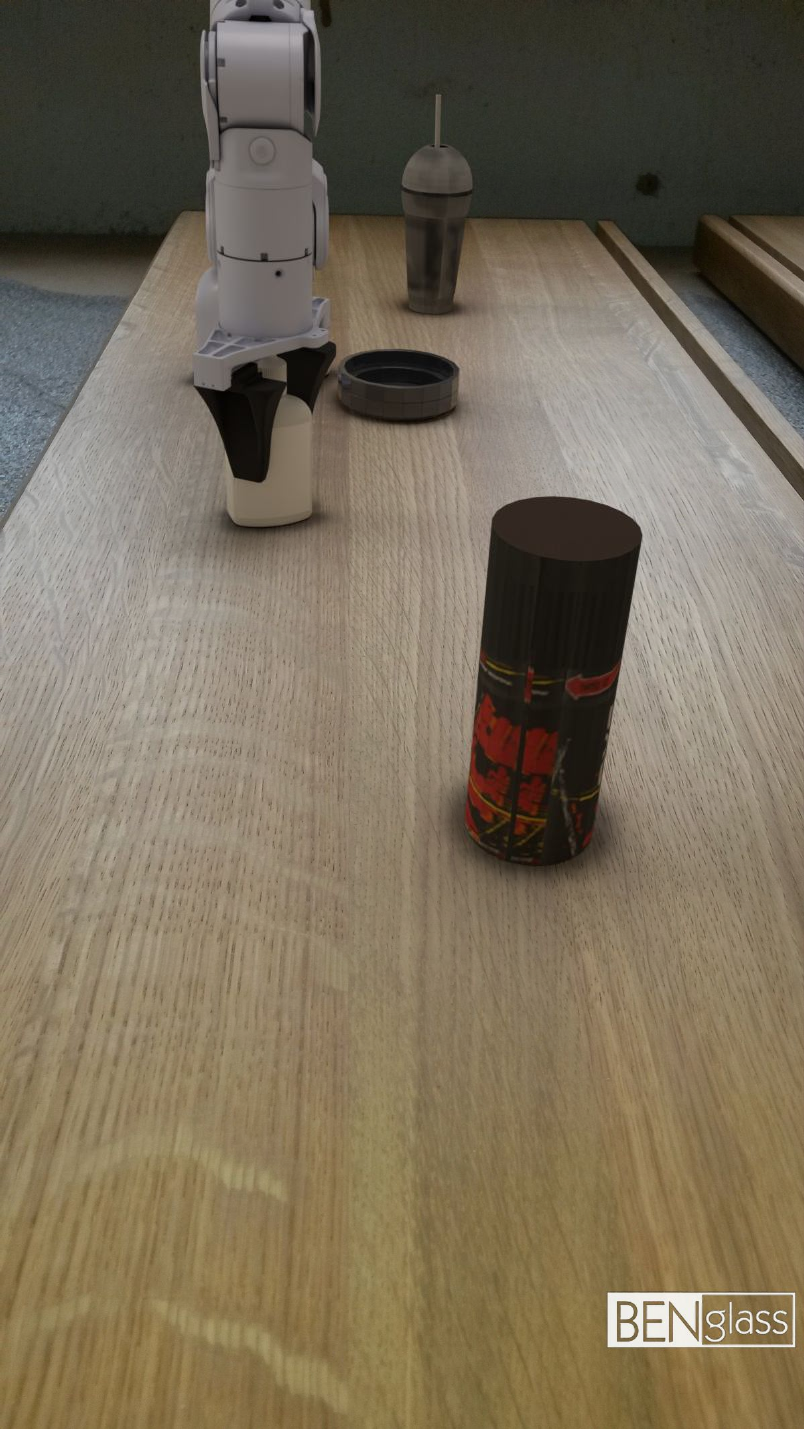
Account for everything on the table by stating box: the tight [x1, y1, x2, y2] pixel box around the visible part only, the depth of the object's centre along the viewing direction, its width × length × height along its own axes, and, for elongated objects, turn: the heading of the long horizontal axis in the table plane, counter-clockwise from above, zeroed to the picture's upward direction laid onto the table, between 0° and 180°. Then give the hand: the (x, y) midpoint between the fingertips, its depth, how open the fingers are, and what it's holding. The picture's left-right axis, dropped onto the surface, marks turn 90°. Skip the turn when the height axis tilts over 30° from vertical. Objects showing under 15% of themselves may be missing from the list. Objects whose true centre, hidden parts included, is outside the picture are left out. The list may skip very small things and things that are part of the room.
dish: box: [337, 348, 461, 422], centre depth 102 cm, size 10×10×3 cm
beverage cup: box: [399, 94, 475, 315], centre depth 121 cm, size 7×7×20 cm
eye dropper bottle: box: [224, 355, 313, 528], centre depth 79 cm, size 4×6×12 cm
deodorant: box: [464, 495, 643, 866], centre depth 52 cm, size 6×6×15 cm
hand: (268, 464), depth 81 cm, fingers closed on eye dropper bottle, 5 cm apart
